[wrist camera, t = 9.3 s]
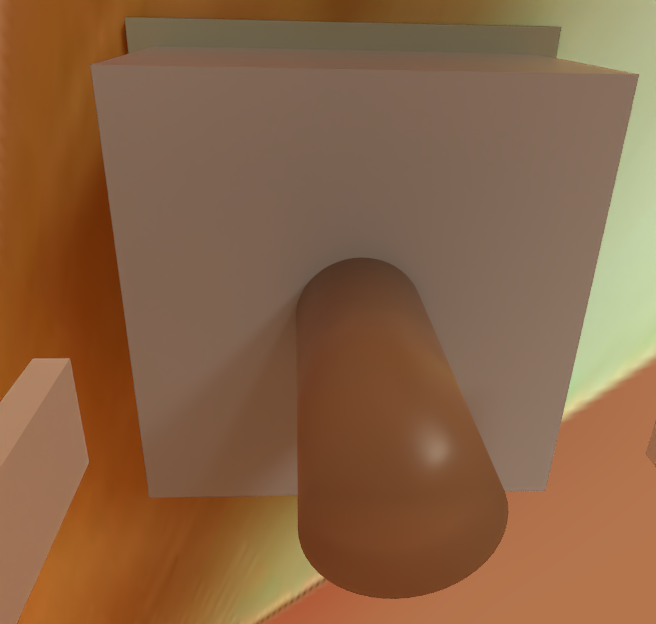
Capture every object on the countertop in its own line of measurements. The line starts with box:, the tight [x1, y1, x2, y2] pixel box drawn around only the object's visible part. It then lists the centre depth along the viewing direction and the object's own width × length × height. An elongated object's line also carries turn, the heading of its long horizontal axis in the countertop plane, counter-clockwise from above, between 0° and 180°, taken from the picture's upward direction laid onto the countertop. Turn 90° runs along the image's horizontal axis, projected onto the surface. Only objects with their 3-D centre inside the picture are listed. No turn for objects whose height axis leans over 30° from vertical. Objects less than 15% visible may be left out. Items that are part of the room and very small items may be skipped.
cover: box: [90, 46, 639, 599], centre depth 18 cm, size 13×13×16 cm
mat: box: [125, 17, 561, 58], centre depth 25 cm, size 15×15×1 cm
